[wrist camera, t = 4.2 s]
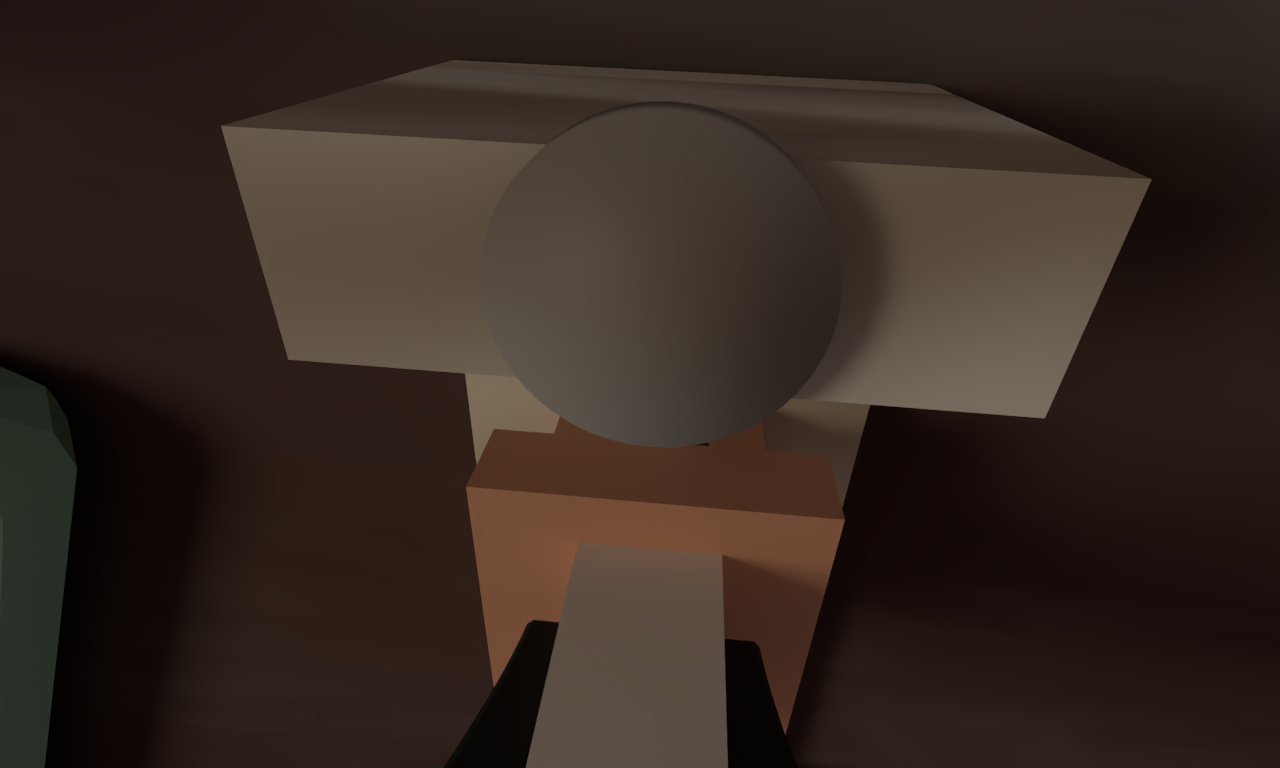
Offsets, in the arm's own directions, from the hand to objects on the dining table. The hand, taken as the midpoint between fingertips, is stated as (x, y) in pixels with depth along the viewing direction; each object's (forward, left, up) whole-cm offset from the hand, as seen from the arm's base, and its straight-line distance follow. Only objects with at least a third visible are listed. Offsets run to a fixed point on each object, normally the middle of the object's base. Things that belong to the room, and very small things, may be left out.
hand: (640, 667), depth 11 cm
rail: (-1, +2, -5) cm, 6 cm away
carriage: (0, 0, -4) cm, 4 cm away
